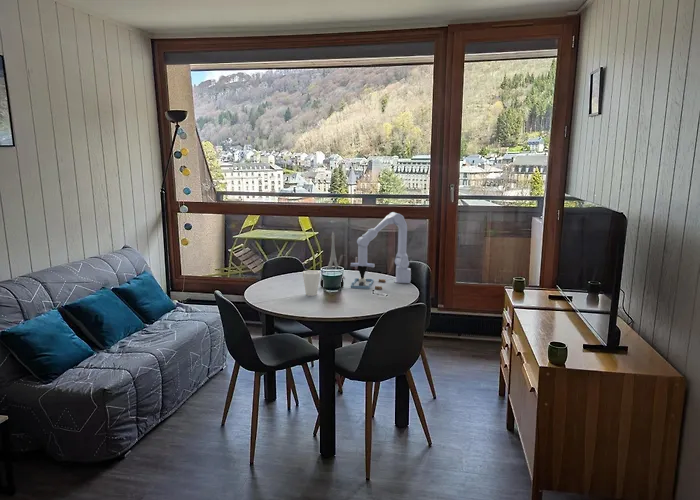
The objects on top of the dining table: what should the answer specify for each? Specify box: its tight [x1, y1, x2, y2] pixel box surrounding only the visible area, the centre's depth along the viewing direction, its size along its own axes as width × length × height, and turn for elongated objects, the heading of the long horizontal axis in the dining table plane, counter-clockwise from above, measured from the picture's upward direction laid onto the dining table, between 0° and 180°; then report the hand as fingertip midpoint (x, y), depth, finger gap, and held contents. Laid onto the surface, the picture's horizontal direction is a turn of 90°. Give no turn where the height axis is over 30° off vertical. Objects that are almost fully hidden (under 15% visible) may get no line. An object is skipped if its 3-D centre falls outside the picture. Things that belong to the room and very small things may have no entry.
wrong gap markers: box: [374, 278, 386, 291], centre depth 304 cm, size 4×20×2 cm, turn 170°
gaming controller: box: [319, 277, 345, 288], centre depth 299 cm, size 14×6×10 cm, turn 84°
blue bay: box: [350, 277, 375, 290], centre depth 306 cm, size 11×19×2 cm, turn 170°
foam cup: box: [302, 269, 321, 297], centre depth 282 cm, size 10×9×13 cm
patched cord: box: [358, 276, 367, 286], centre depth 306 cm, size 4×12×4 cm, turn 170°
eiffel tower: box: [327, 231, 345, 280], centre depth 324 cm, size 13×13×30 cm
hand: (362, 278), depth 306 cm, fingers closed, pressing on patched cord
